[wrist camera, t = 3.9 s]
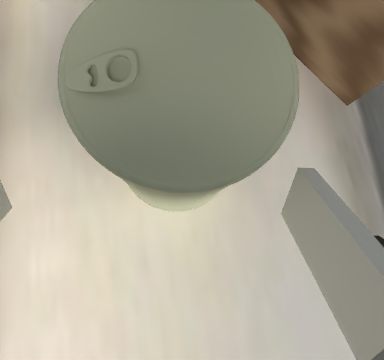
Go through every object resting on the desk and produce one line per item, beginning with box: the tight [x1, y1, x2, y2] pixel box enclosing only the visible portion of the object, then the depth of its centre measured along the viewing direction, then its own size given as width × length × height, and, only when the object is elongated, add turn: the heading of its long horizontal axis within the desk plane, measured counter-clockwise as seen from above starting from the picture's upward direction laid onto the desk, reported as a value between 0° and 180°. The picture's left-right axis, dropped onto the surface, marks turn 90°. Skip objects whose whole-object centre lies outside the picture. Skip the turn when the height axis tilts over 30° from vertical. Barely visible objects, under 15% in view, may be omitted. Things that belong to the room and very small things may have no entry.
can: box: [58, 0, 299, 211], centre depth 15 cm, size 9×9×12 cm
